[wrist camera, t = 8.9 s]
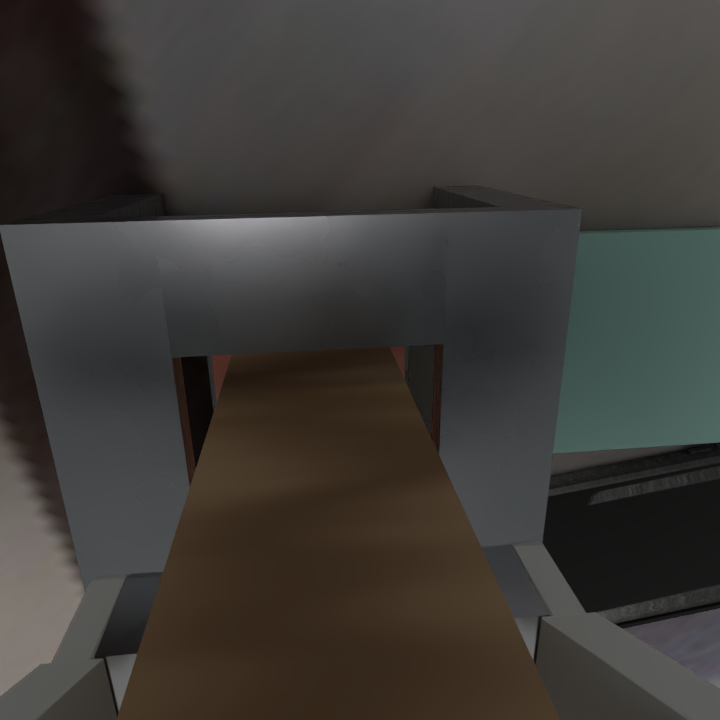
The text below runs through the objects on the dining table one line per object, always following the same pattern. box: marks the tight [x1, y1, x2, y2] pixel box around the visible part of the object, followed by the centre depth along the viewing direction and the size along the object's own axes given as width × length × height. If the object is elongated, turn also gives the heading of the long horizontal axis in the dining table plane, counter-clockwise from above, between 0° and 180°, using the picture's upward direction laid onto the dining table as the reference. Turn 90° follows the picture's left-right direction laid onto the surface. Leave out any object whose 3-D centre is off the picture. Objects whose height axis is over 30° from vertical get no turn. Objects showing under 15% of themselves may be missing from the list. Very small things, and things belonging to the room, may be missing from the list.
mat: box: [553, 227, 720, 454], centre depth 20 cm, size 8×8×1 cm
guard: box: [0, 186, 582, 592], centre depth 16 cm, size 11×11×7 cm
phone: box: [542, 443, 720, 628], centre depth 23 cm, size 8×1×15 cm
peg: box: [116, 347, 560, 720], centre depth 9 cm, size 4×4×14 cm
